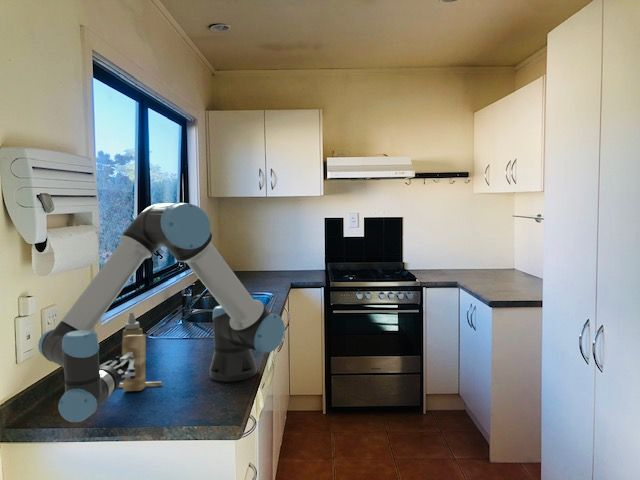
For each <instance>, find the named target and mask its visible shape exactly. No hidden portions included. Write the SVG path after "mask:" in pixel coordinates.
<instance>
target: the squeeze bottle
mask: <svg viewBox="0 0 640 480" xmlns="http://www.w3.org/2000/svg"><path fill="white" fill-rule="evenodd" d="M124 325H125V329H123V330H122V341H121V356H122V357H123V338H124V336H127V335H144V333H143V331H144V330H143V328H141V327H140V322H139V321H137V320H136V317H135V313H134V312H129V317H128V322H126V323H125V324H124Z"/></svg>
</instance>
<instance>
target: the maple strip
mask: <svg viewBox="0 0 640 480" xmlns="http://www.w3.org/2000/svg"><path fill="white" fill-rule="evenodd" d="M162 384H163V383H162V381H145V388H146V387H161V386H162ZM118 388H122V389H123V382H120V384H119V386H118ZM118 388H117V389H118Z"/></svg>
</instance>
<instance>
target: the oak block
mask: <svg viewBox="0 0 640 480" xmlns="http://www.w3.org/2000/svg"><path fill="white" fill-rule="evenodd" d="M146 339H147V338H146V334H143V335H127V336H124V338H123V356H124V355H125V354H126V353H127V352H133V359H135V378H134V379H131V378H128V377H125V379H124V380H123V381H122V383H123V387H122V391H123V392H134V391H135V392H139V391H142V390H144V389H145V388H146V387H145V382H146V355H147V354H146V353H147V352H146V345H147V344H146V343H147V342H146ZM123 356H122V357H123ZM125 373H126V372H125Z"/></svg>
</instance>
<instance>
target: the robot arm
mask: <svg viewBox="0 0 640 480" xmlns="http://www.w3.org/2000/svg"><path fill="white" fill-rule="evenodd" d="M210 227H211V221H210V218H209V216H208V215H207V213H206V212H205V211H204V209H202V208H201V207H199V206H198V205H195V204H193V203H187V202H174V203H155V204H152V205H150V206H148V207H146V208H145V209H144V210H143V211H141V212H140V213H139V214H138V215H137V216H136V218H134V219H133V220H132V222H131V223H130V224H129V226H128V227H127V228H126V229H125V231H123V233H122V235H121V236H120V244H119V245H118V246H117V247H116V248H115V250H114V252H113V253H112V254H111V255H110V257H109V258H108V259H107V261H105V263H104V264H103V266H102V267H101V268H100V269H99V271H97V273H96V275H95V276H94V277H93V279H92V280H91V281H90V283H89V284H88V286H87V287H86V288H85V289H84V291H82V293H81V295H80V296H79V297H78V298H77V299H76V301H75V303H73V305H72V306H71V308H70V309H69V310H68V311H67V313H66V314H65V315H64V317H63V318H62V319H61V320H60V322H58V324H57V326H55V328H53V329H50V330H47V331H46V332H44V333H43V334H42V336H41V337H40V339H39V341H38V345H37V346H38V351H39V353H40V354H41V355H42V356H43V358H46V360H47V361H49V362H50V363H51V362H52V363H54V364H56V365H58V366H60V367H62V368H63V373H64V374H63V375H64V393H63V394H62V396H61V397H60V399H59V401H58V406H57V407H58V412H59V414H60V416H61V417H62V418H63V419H64V420H66V421H67V422H70V423H81V422H83V421H85V420H87V419H88V418H89V417H90V416H92V415H94V414H95V412H96V411H97V410H98V408H100V406H101V405H103V404H104V402H105V401H106V400H107V399H108V398H109V397H111V395H112V394H113V393H115V391H116V390H117V389H118V386H119V384H120V383H122V382H123V380H124V379H125V377H128V378H131V379H134V378H135V359H133V352H127V353H126V354H125V355H124V356H122V357H120V356H116V357H115V359H114V361H113V360H112V359H110V360H107V361H106V362H103V363H102V364H100V343H99V340H98V339H99V338H98V334H97V332H96V331H95V330H94V328H95V327H96V325H97V324H98V323H99V322H100V320H101V318H103V316H104V315H105V313H106V312H107V311H108V309H109V308H110V306H111V305H112V304H113V303H114V301H115V300H116V298H117V297H118V296H119V295H120V293H121V292H122V290H123V289H124V287H126V285H127V283H128V282H129V281H130V280H131V278H132V276H134V274H135V273H136V271H137V270H138V269H139V267H140V266H141V264H142V263H144V261H145V260H146V259H150V258H152V257H153V255H154V254H155V252H156V251H157V250H158V249H159V248H161V247H165V248H166V249H167V250H168V251H169V252H170V254H171V255H172V256H173V257H174V259H176V261H177V262H180V263H181V262H182V263H186V265H188V267H189V268H190V269H191V271H192V272H193V273H194V274H195V276H197V278H198V279H199V280H200V282H201V283H202V285H204V286H205V288H206V289H207V291H208V292H209V293H210V294H211V295H212V297H214V299H215V301H216V302H217V303H218V304H219V305H217V306H215V307H214V308H213V311H212V329H213V331H212V332H213V333H212V334H213V349H214V350H213V351H214V352H213V356H212V358H211V359H212V360H211V364H210V366H209V377H210V379H212V380H213V381H217V382H227V383H228V382H229V383H230V382H232V383H233V382H238V381H239V382H240V381H246V380H248V379H251V378H253V377H255V375H257V373H258V369H257V363H256V361H255V358H254V356H253V352H252V350H253V351H256V352H258V353H272V352H273V351H275V350H276V349H277V348H278V347H279V346H280V345H281V343H282V341H283V339H284V334H285V327H286V326H285V323H284V320H283V318H282V317H281V316H280V315H278V314H277V313H271V312H270V311H269V310H268V308H267V307H266V306H265V304H264V303H263V301H261V300H259V299H254V298H253V296H251V294H250V293H249V291H248V290H247V289H246V288H245V285H244V284H243V283H242V282H241V280H240V279H239V278H238V276H236V274H235V272H234V271H233V270H232V268H231V267H230V266H229V265H228V263H227V262H226V260H225V259H224V258H223V256H222V255H221V254H220V252H219V251H218V249H217V248H216V247H215V245H214V244H213V239H214V235H213V233H212V231H211V228H210ZM125 372H126V373H125Z"/></svg>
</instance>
